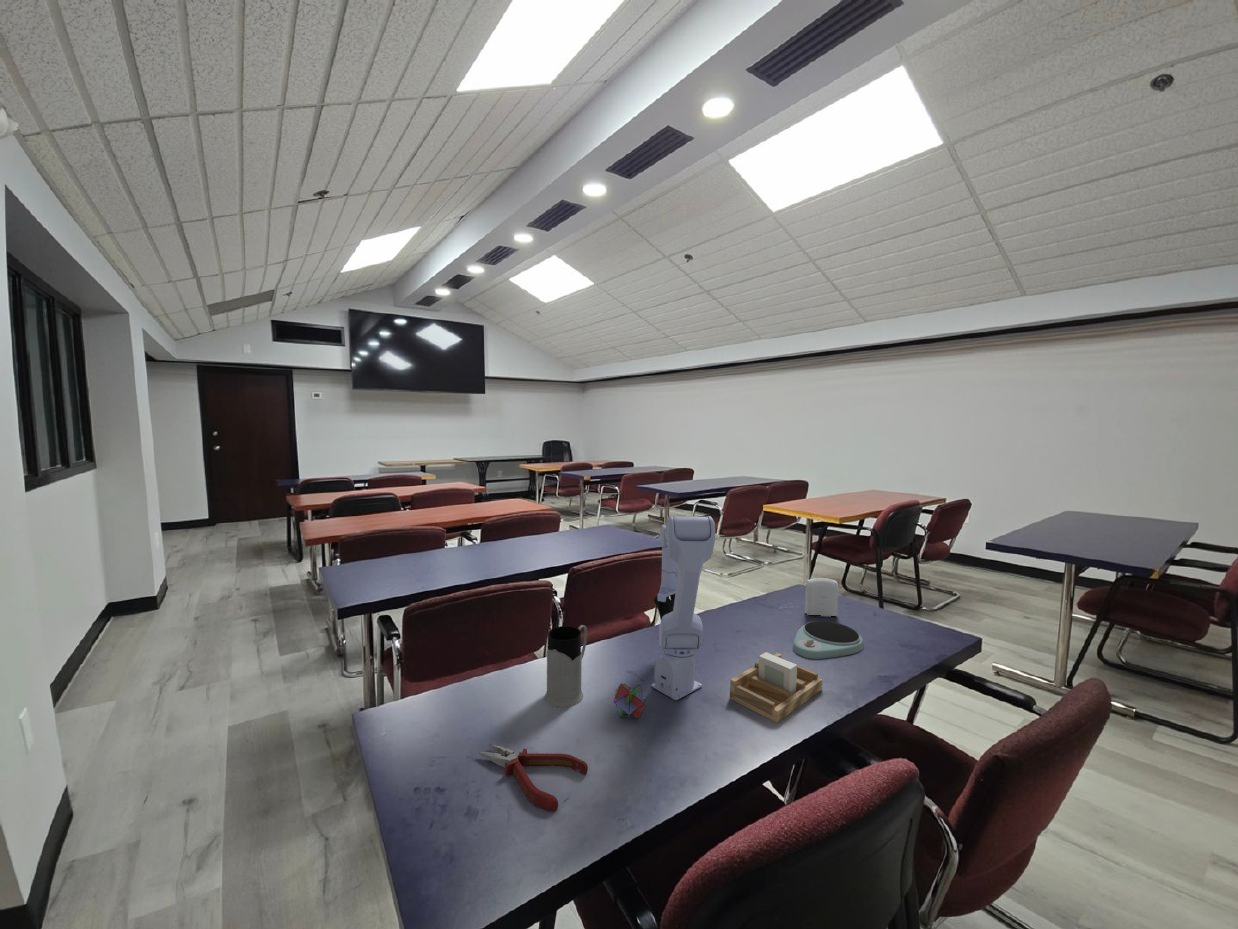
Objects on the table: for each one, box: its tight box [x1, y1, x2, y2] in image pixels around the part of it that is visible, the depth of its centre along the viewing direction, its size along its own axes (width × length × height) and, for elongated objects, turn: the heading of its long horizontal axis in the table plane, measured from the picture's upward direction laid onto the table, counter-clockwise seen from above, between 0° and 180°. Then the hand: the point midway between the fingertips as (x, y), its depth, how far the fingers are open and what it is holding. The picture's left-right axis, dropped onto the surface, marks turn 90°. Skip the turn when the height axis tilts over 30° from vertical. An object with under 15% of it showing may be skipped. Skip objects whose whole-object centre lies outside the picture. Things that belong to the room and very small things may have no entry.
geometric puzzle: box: [612, 683, 647, 720], centre depth 105 cm, size 7×7×8 cm
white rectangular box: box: [758, 651, 798, 696], centre depth 115 cm, size 3×8×7 cm, turn 42°
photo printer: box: [804, 577, 839, 617], centre depth 162 cm, size 10×4×12 cm, turn 85°
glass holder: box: [544, 624, 588, 709], centre depth 114 cm, size 9×14×15 cm, turn 154°
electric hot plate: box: [792, 620, 865, 660], centre depth 142 cm, size 18×4×25 cm
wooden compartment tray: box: [729, 652, 824, 723], centre depth 114 cm, size 20×12×5 cm, turn 132°
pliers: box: [478, 743, 589, 813], centre depth 88 cm, size 12×20×3 cm, turn 62°
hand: (671, 619), depth 132 cm, fingers open, 7 cm apart
